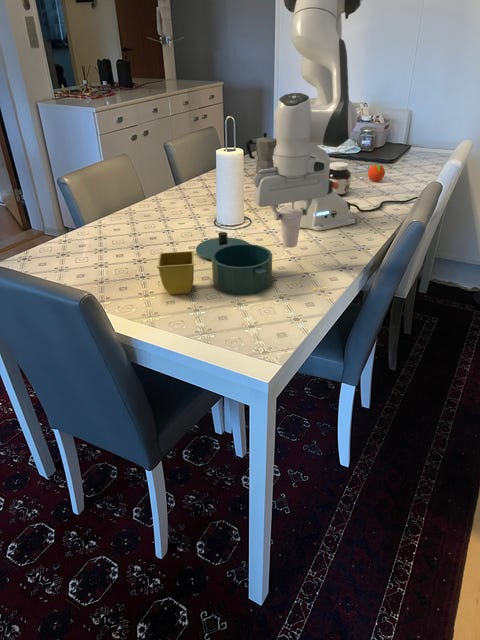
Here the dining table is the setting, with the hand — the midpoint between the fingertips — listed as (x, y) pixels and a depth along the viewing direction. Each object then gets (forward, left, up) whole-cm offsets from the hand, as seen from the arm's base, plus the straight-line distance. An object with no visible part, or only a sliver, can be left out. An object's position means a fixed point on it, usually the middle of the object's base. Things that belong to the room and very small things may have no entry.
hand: (290, 217), depth 131 cm
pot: (+15, +5, -14) cm, 22 cm away
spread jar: (-41, -60, -14) cm, 74 cm away
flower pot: (+32, +5, -15) cm, 36 cm away
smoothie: (0, 0, -8) cm, 8 cm away
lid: (+15, -16, -14) cm, 26 cm away
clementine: (-64, -69, -15) cm, 95 cm away
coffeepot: (-22, -96, -14) cm, 99 cm away
